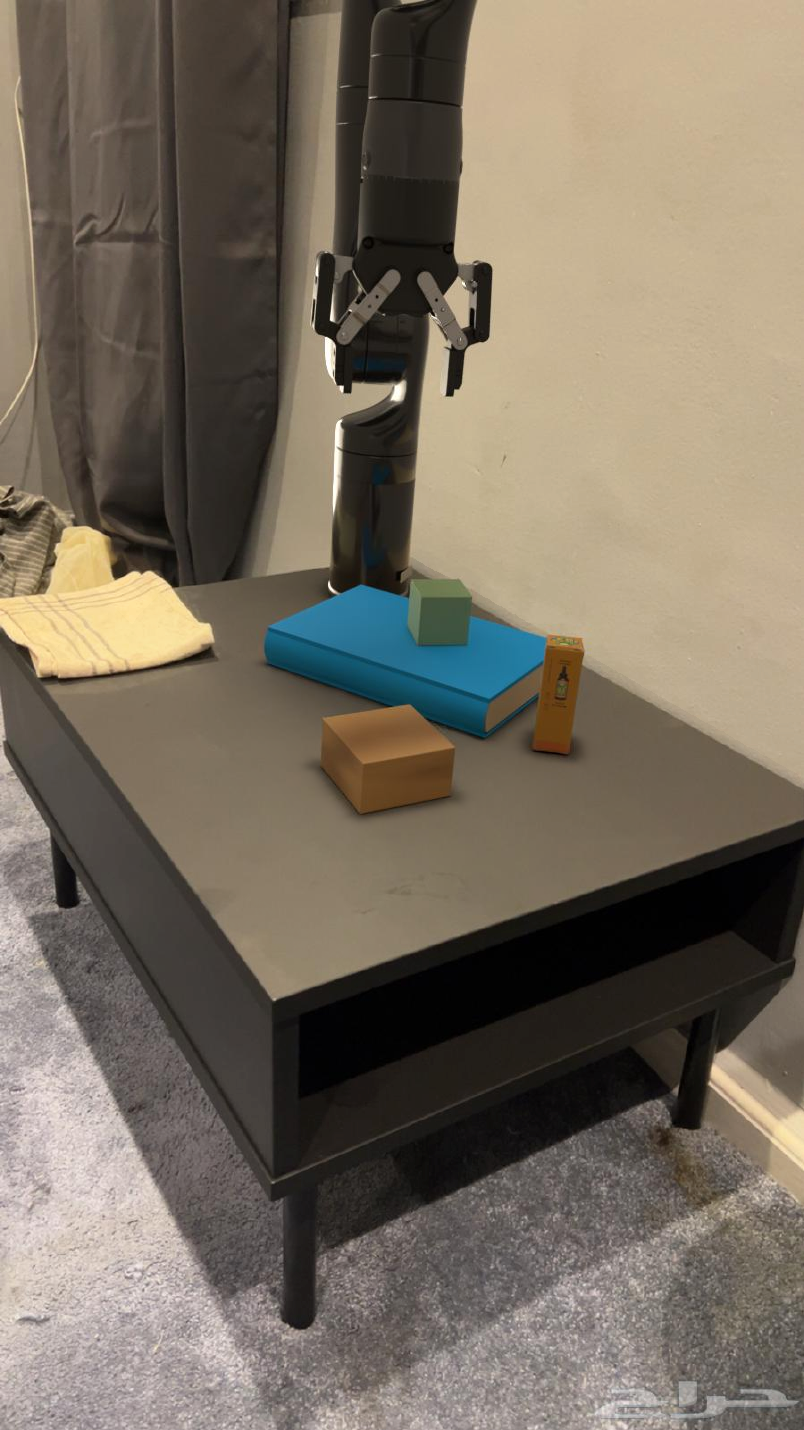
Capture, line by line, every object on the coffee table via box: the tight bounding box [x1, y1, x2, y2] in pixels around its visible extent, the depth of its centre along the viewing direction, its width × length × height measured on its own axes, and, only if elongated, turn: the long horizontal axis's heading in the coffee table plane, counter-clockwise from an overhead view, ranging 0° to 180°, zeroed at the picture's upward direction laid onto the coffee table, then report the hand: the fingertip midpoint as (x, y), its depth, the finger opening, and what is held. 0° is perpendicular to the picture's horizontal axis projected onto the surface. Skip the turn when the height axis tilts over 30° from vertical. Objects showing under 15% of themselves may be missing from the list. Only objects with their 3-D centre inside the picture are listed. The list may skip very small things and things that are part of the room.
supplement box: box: [532, 634, 586, 755], centre depth 91 cm, size 3×4×10 cm
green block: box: [407, 578, 473, 646], centre depth 103 cm, size 5×5×5 cm
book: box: [263, 585, 547, 739], centre depth 105 cm, size 17×4×25 cm
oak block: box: [320, 704, 456, 815], centre depth 85 cm, size 8×8×4 cm
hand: (396, 393), depth 87 cm, fingers open, 8 cm apart
